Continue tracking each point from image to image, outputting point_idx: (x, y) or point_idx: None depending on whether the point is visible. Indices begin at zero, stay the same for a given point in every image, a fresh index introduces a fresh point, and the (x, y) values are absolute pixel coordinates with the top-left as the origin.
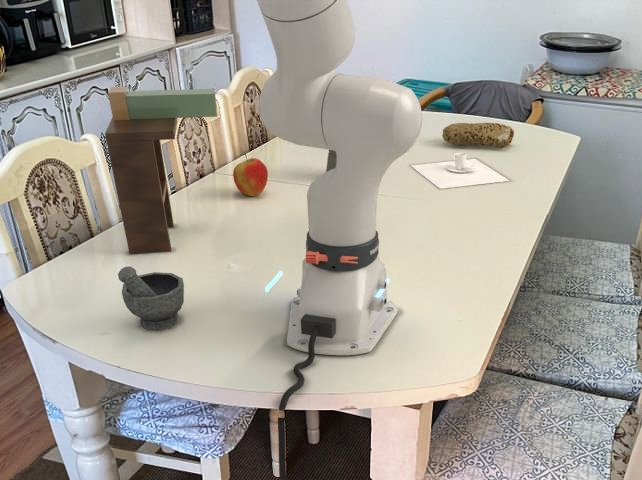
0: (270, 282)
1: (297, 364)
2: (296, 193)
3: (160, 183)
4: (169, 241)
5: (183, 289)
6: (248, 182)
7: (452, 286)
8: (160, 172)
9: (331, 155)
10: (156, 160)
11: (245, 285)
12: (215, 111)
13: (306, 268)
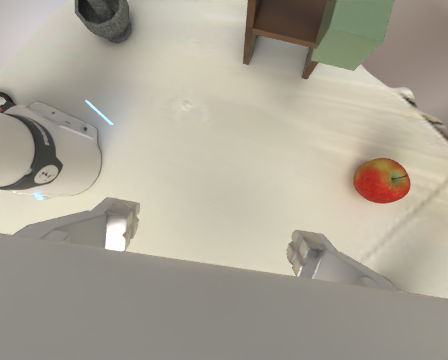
0: (93, 107)
1: (4, 96)
2: (347, 231)
3: (310, 36)
4: (244, 57)
5: (93, 29)
6: (358, 171)
7: None
8: None
9: None
10: None
11: (145, 104)
12: (314, 51)
13: (27, 116)
